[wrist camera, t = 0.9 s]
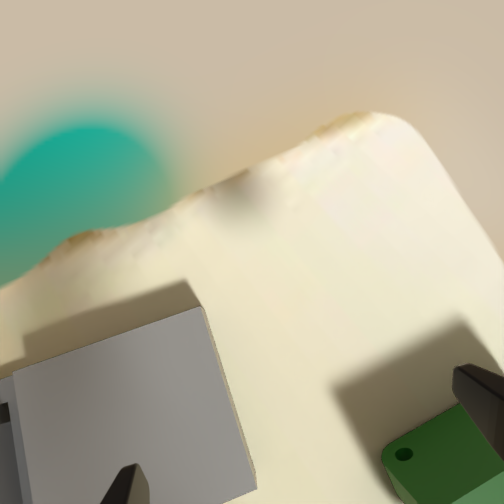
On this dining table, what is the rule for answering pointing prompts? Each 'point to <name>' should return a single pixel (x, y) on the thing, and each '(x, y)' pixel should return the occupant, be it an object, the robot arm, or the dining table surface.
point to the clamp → (445, 463)
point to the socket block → (125, 420)
